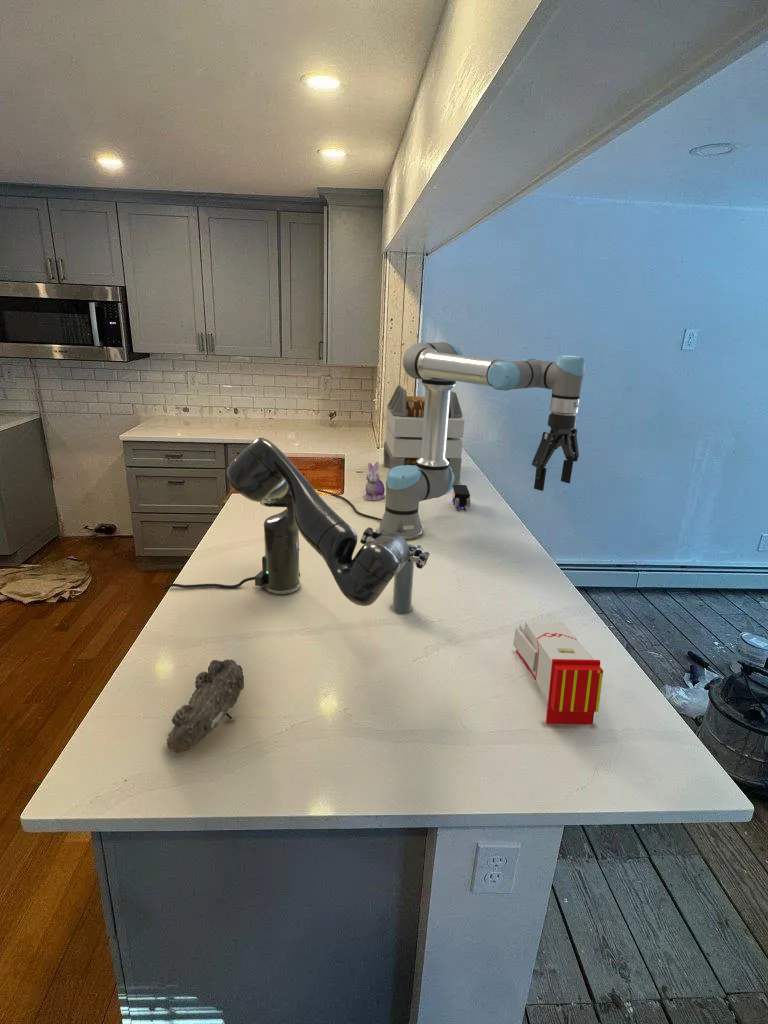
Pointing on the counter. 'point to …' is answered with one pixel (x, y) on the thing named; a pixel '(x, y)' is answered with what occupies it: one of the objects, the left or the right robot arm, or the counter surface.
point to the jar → (403, 588)
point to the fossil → (206, 705)
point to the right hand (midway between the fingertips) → (552, 485)
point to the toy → (561, 671)
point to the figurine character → (461, 496)
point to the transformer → (419, 431)
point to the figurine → (374, 483)
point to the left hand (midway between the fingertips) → (400, 542)
